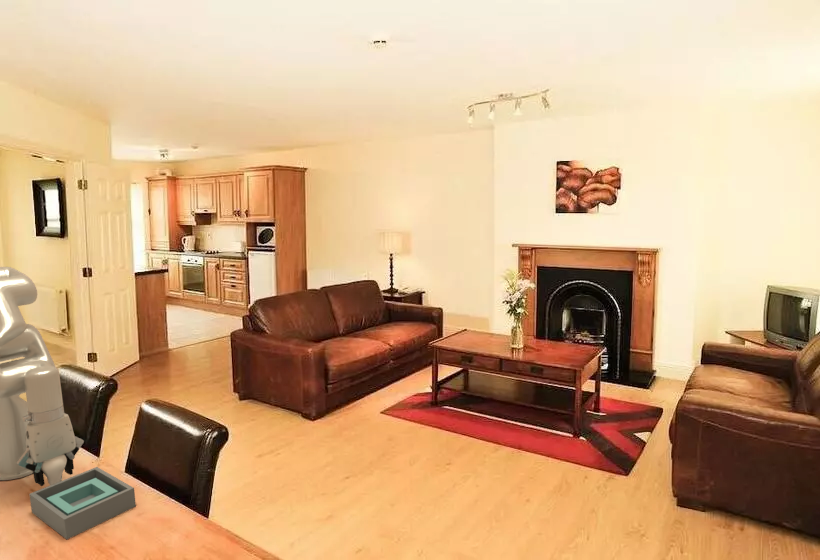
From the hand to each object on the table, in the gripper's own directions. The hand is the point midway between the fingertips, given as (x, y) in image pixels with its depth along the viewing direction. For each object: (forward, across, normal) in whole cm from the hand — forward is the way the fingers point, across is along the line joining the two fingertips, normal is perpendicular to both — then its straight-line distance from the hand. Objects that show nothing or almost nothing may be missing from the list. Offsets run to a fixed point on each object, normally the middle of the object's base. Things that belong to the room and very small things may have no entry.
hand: (55, 477), depth 144 cm
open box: (+4, 0, -16) cm, 16 cm away
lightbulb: (+4, 0, 0) cm, 4 cm away
